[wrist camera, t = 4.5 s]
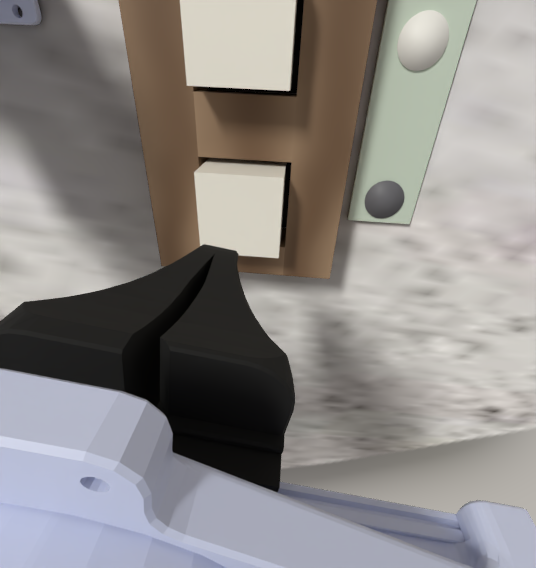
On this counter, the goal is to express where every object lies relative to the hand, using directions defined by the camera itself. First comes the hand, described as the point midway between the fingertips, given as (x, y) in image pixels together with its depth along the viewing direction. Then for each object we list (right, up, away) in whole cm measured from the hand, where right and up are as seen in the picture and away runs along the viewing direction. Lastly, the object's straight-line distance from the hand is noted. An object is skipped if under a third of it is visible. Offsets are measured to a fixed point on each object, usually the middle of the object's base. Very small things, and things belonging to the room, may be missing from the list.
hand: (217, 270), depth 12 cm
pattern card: (+10, +12, +4) cm, 16 cm away
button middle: (+1, +11, +3) cm, 12 cm away
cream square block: (+1, +5, +7) cm, 9 cm away
